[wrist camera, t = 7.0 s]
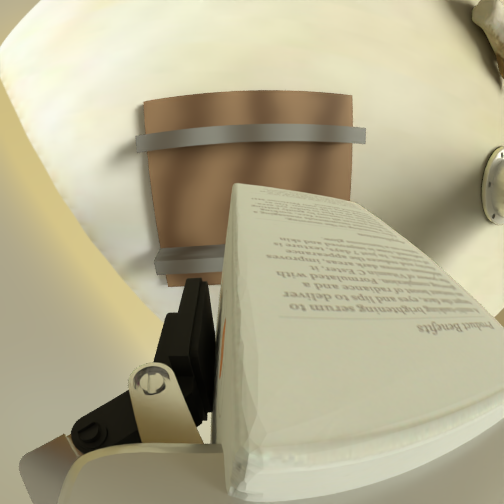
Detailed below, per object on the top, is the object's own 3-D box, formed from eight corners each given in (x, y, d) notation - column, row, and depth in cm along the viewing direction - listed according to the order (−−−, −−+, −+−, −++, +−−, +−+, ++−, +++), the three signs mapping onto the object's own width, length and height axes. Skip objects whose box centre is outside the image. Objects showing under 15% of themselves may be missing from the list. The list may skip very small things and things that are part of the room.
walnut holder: (347, 96, 24) (365, 93, 20) (338, 270, 33) (350, 289, 29) (147, 102, 23) (133, 99, 19) (170, 281, 32) (163, 302, 28)
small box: (314, 338, 15) (370, 517, 6) (213, 332, 14) (208, 537, 5) (359, 198, 12) (551, 373, 2) (231, 177, 11) (236, 476, 2)
